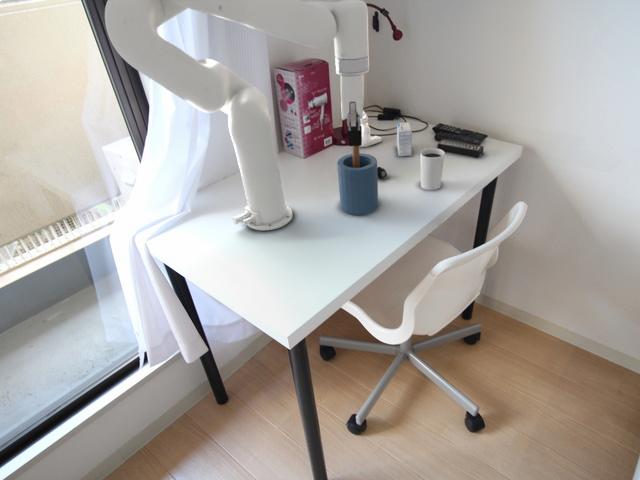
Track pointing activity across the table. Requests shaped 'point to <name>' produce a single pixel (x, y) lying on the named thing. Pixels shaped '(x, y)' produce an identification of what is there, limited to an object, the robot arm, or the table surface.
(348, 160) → the cup
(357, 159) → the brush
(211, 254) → the table surface
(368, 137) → the sitting furry creature
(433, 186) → the white tumbler
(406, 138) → the medicine box
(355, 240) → the table surface
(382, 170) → the electric trimmer
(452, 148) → the multiport hub
